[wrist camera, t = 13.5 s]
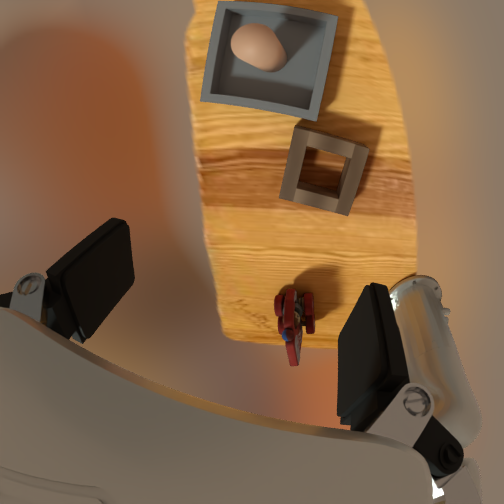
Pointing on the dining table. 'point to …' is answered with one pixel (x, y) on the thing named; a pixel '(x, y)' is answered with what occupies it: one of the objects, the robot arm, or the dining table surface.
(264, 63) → the dowel
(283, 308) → the red toy race car
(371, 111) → the dining table surface
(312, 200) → the collar block
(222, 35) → the tray
